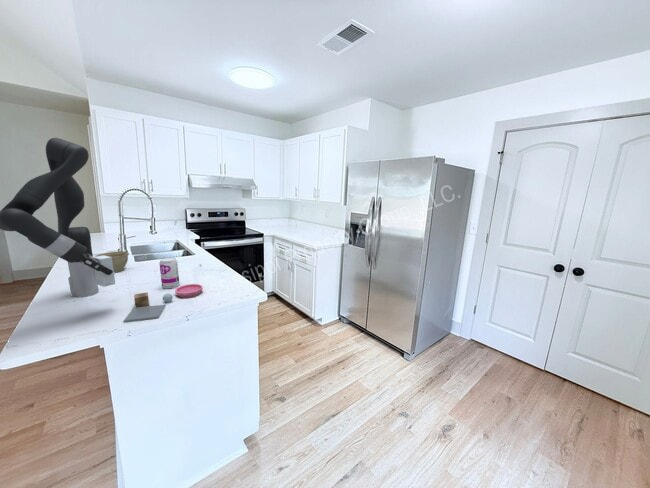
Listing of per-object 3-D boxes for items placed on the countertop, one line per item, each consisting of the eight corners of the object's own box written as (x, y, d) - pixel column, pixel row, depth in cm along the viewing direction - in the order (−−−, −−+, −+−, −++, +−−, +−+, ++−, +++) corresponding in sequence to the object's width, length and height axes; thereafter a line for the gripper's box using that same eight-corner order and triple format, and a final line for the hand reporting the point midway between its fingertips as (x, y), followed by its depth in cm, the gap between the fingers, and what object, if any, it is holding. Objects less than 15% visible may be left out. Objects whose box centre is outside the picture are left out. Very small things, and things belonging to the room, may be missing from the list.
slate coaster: (123, 322, 103) (123, 320, 103) (134, 309, 114) (133, 307, 114) (158, 318, 107) (158, 316, 107) (165, 306, 118) (165, 304, 118)
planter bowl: (124, 265, 177) (122, 250, 174) (134, 270, 167) (131, 254, 165) (94, 271, 164) (91, 254, 162) (102, 276, 155) (99, 259, 152)
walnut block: (135, 308, 115) (134, 298, 114) (135, 304, 119) (134, 294, 118) (149, 306, 118) (147, 295, 117) (148, 302, 122) (147, 292, 121)
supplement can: (171, 289, 138) (168, 262, 134) (158, 288, 139) (155, 260, 136) (182, 284, 145) (180, 258, 142) (170, 283, 147) (167, 257, 144)
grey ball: (162, 303, 120) (161, 295, 120) (164, 300, 124) (163, 292, 123) (171, 302, 122) (171, 294, 121) (173, 299, 125) (172, 291, 125)
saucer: (201, 297, 129) (200, 291, 128) (172, 300, 125) (172, 293, 125) (204, 288, 140) (204, 282, 140) (178, 290, 137) (178, 284, 136)
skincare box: (116, 284, 111) (112, 257, 109) (104, 287, 108) (100, 259, 105) (107, 281, 114) (104, 255, 111) (96, 284, 110) (92, 257, 108)
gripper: (77, 243, 97) (120, 267, 108) (71, 237, 106) (112, 260, 117) (59, 260, 94) (105, 283, 105) (55, 252, 103) (98, 274, 114)
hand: (109, 271), depth 111 cm, fingers closed on skincare box, 7 cm apart
